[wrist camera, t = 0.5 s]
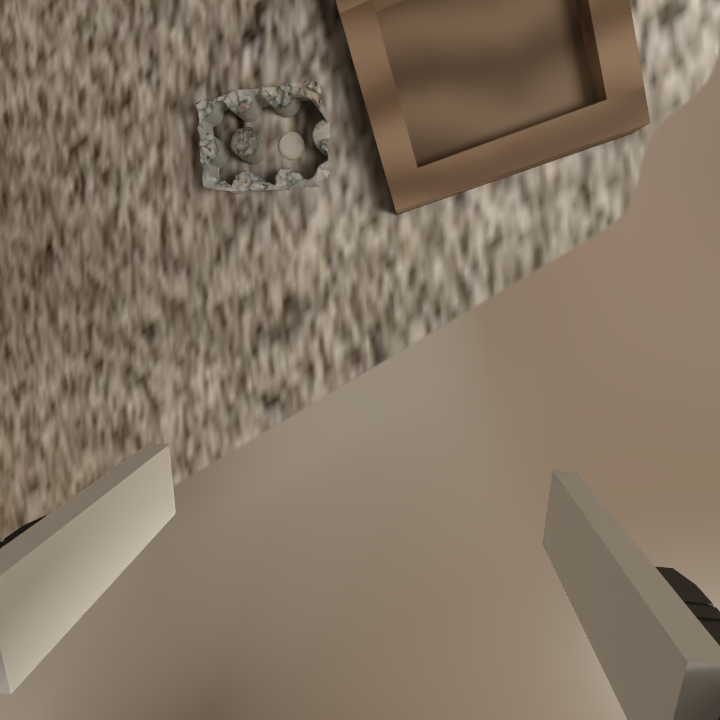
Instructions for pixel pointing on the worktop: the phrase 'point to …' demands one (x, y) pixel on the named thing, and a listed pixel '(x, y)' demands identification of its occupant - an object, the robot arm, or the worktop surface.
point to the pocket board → (490, 86)
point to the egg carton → (251, 145)
